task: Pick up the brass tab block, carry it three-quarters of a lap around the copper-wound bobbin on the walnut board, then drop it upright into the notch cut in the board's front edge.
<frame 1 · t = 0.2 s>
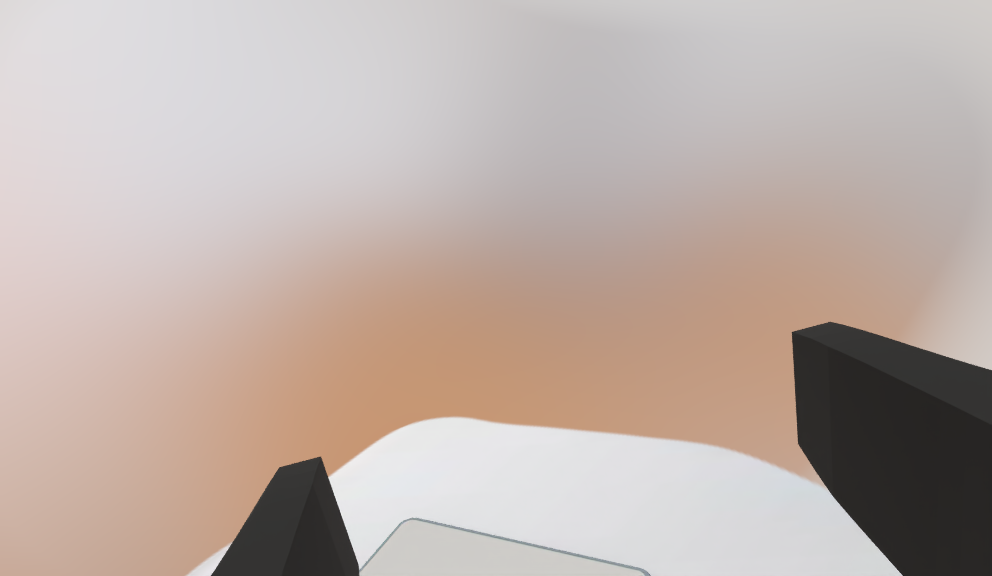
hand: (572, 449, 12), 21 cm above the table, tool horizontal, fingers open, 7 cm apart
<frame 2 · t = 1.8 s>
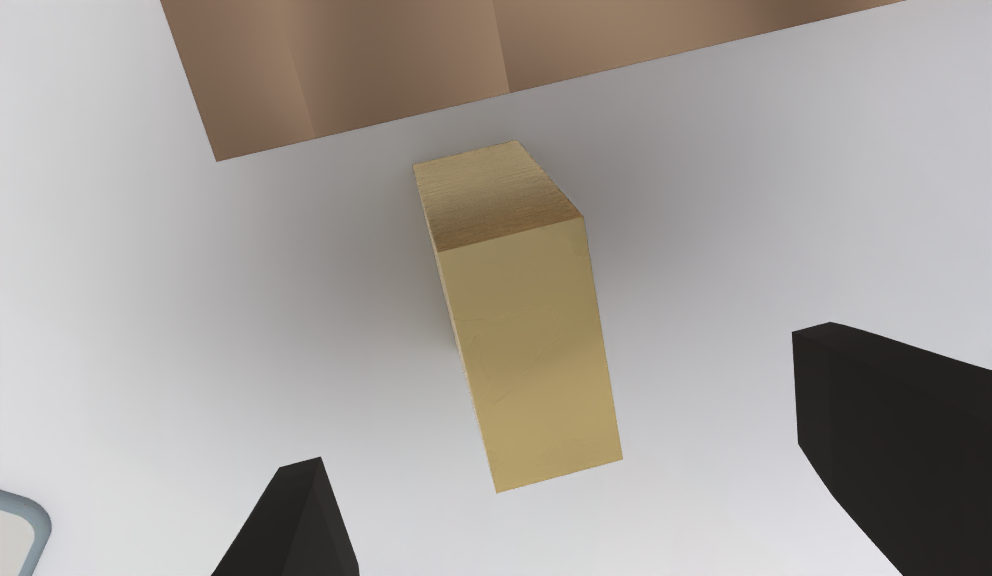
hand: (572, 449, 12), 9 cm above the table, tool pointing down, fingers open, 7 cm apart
brass tab: (486, 250, 20), on the table
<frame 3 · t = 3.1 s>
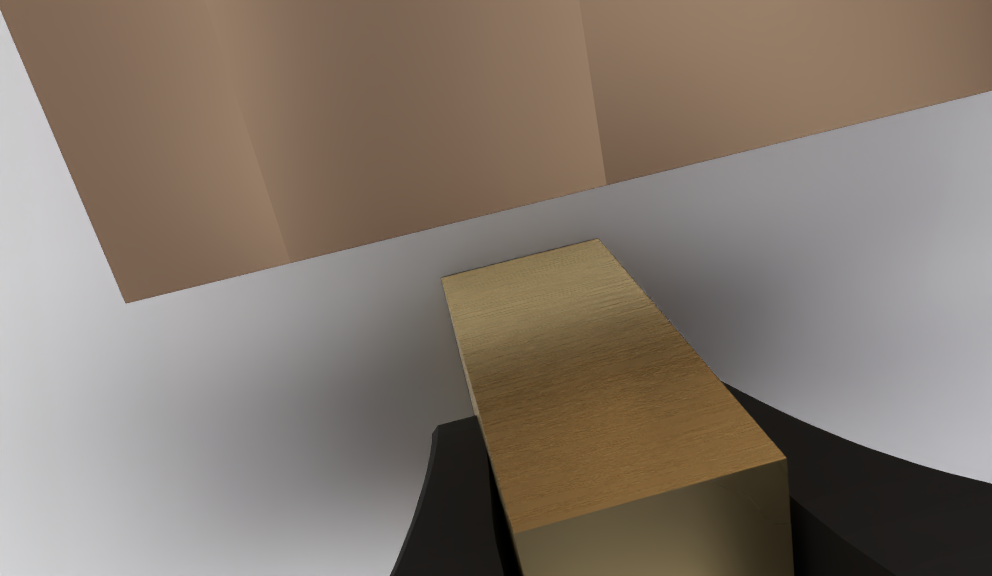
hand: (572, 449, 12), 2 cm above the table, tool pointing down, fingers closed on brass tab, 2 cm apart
brass tab: (547, 394, 14), on the table, touching gripper
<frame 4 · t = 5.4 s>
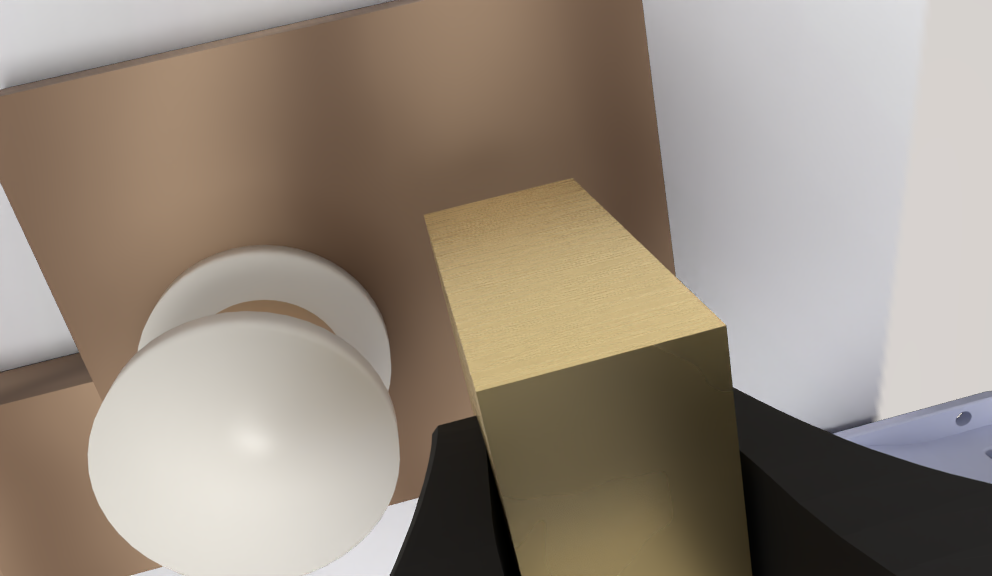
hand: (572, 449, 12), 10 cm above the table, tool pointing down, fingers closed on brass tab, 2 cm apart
bobbin: (270, 356, 19), resting on notched board
brass tab: (527, 331, 14), point 7 cm above the table, touching gripper
notched board: (265, 287, 21), on the table
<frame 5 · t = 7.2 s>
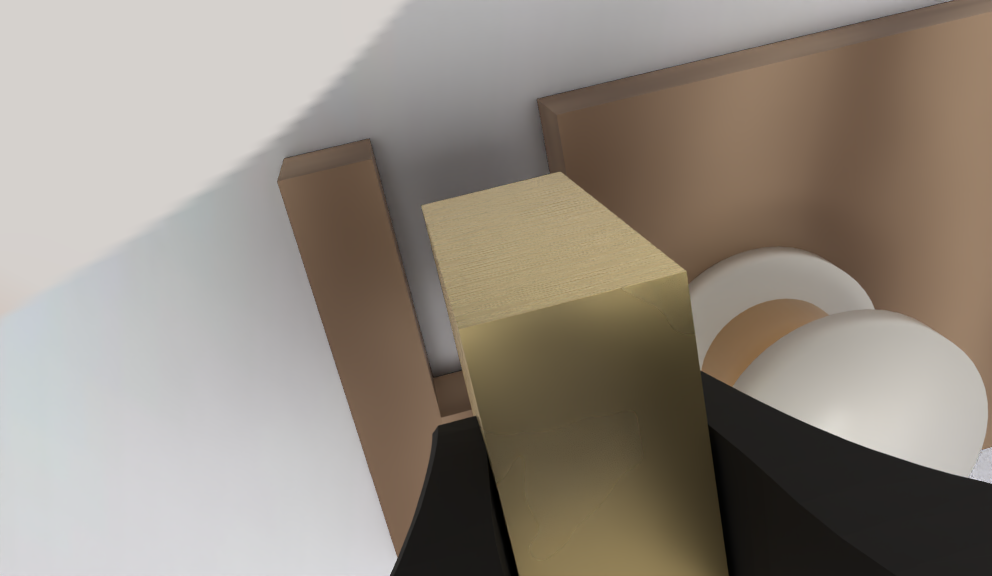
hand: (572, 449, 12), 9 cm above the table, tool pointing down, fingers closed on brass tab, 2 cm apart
bobbin: (756, 352, 21), resting on notched board
brass tab: (519, 318, 15), point 6 cm above the table, touching gripper
notched board: (720, 286, 22), on the table
when the fingers open (3 cm above the table, at t = 8.5 s): brass tab stays where it is, resting in notched board.
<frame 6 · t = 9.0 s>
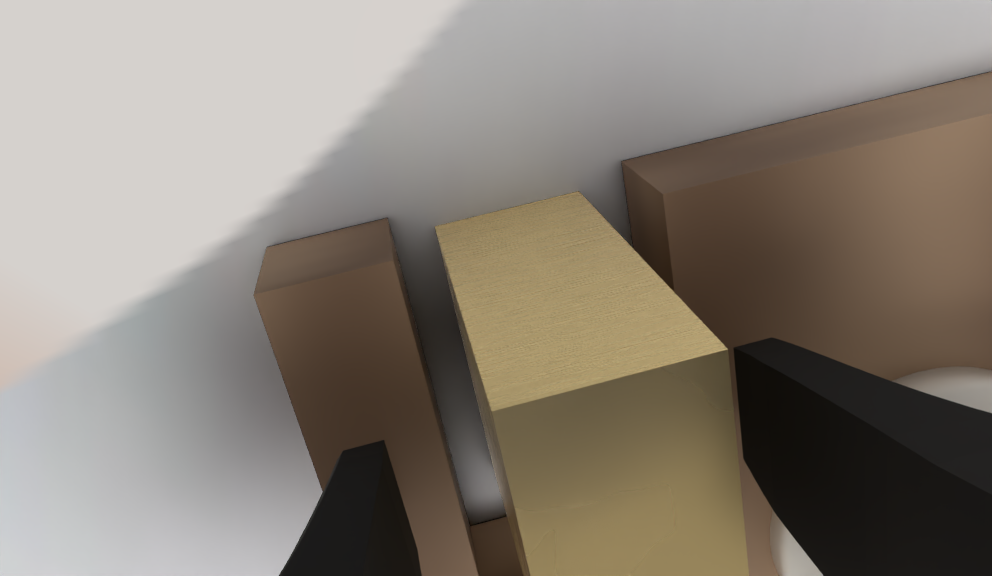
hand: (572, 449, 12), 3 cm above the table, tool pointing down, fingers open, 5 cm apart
bobbin: (914, 502, 15), resting on notched board
brass tab: (533, 338, 15), resting in notched board
notched board: (852, 401, 16), on the table
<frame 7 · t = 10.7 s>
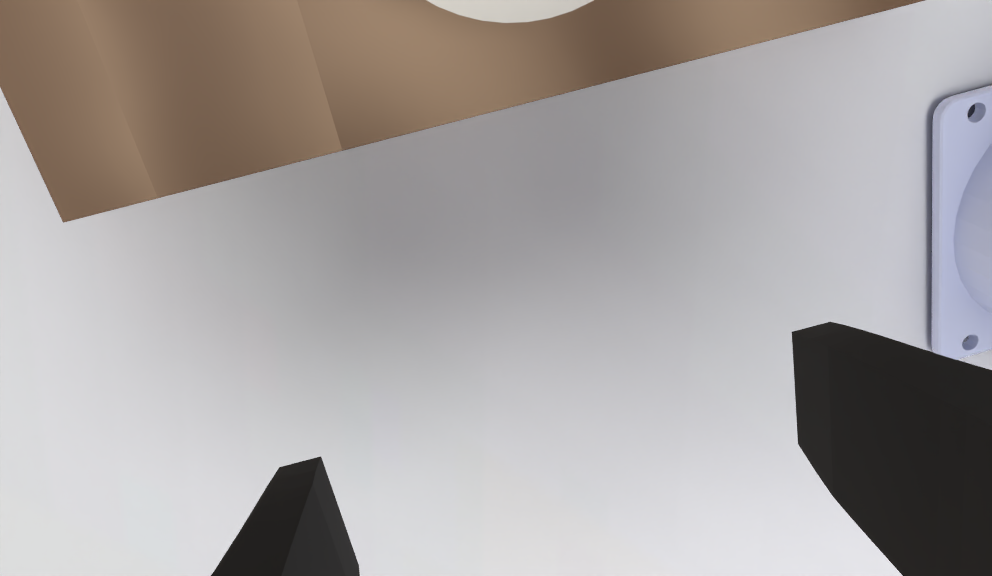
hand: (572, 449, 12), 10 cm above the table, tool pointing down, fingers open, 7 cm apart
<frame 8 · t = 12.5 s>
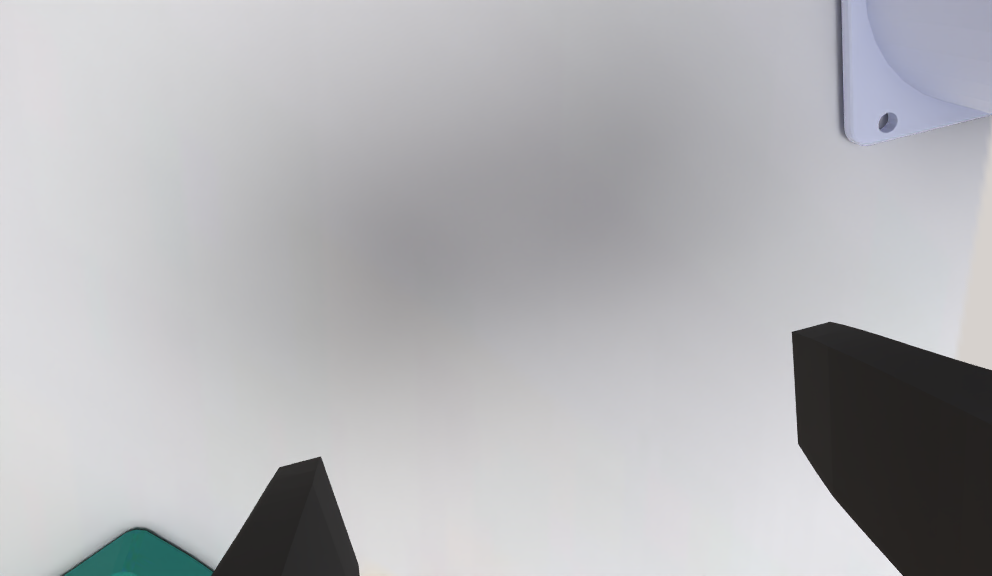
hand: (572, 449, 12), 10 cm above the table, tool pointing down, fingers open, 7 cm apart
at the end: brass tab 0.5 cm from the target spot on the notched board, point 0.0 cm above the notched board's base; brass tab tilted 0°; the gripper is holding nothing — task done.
